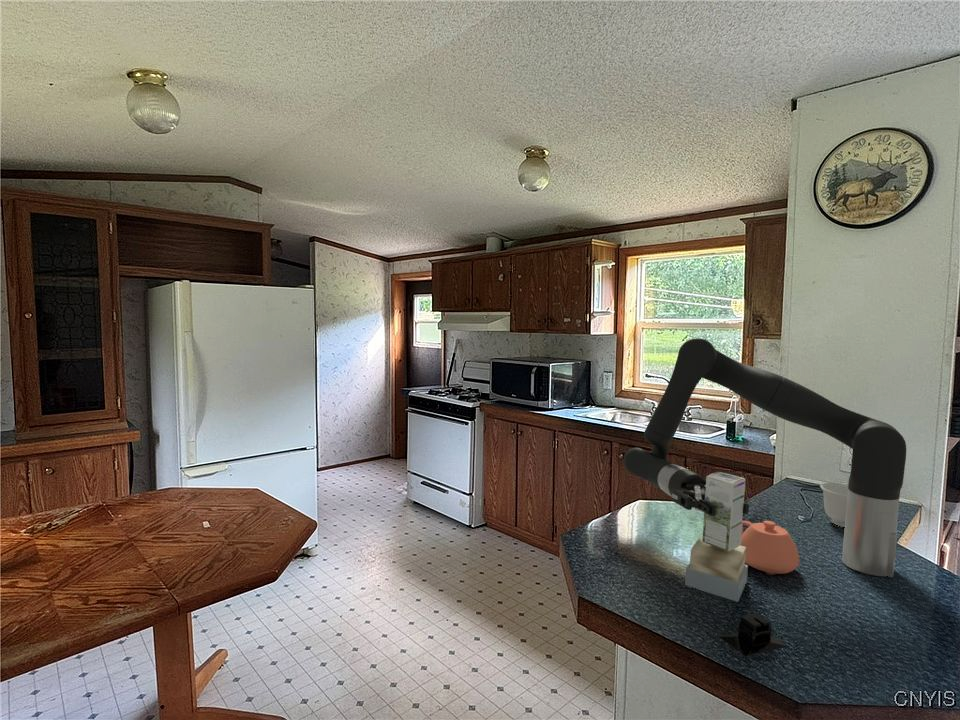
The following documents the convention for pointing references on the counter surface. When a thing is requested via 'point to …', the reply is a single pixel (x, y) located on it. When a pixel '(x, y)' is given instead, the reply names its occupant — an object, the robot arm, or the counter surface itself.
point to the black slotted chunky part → (753, 636)
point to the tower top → (718, 560)
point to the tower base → (716, 583)
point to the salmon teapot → (769, 548)
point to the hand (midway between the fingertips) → (730, 510)
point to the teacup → (835, 501)
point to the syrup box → (724, 510)
